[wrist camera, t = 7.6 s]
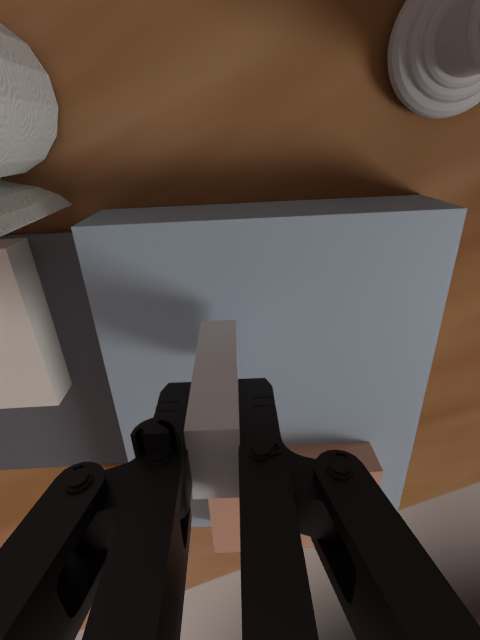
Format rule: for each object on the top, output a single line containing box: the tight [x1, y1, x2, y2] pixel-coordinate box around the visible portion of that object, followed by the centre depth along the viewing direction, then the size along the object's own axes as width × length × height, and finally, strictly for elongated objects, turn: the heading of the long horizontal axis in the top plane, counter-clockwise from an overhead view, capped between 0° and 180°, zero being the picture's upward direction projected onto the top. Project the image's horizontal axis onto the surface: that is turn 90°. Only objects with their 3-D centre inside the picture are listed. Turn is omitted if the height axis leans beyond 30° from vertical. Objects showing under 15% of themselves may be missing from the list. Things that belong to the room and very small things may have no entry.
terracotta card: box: [208, 442, 383, 553], centre depth 21 cm, size 9×6×2 cm, turn 92°
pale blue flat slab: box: [71, 195, 467, 527], centre depth 21 cm, size 16×19×4 cm
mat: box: [0, 231, 128, 470], centre depth 22 cm, size 12×16×1 cm
